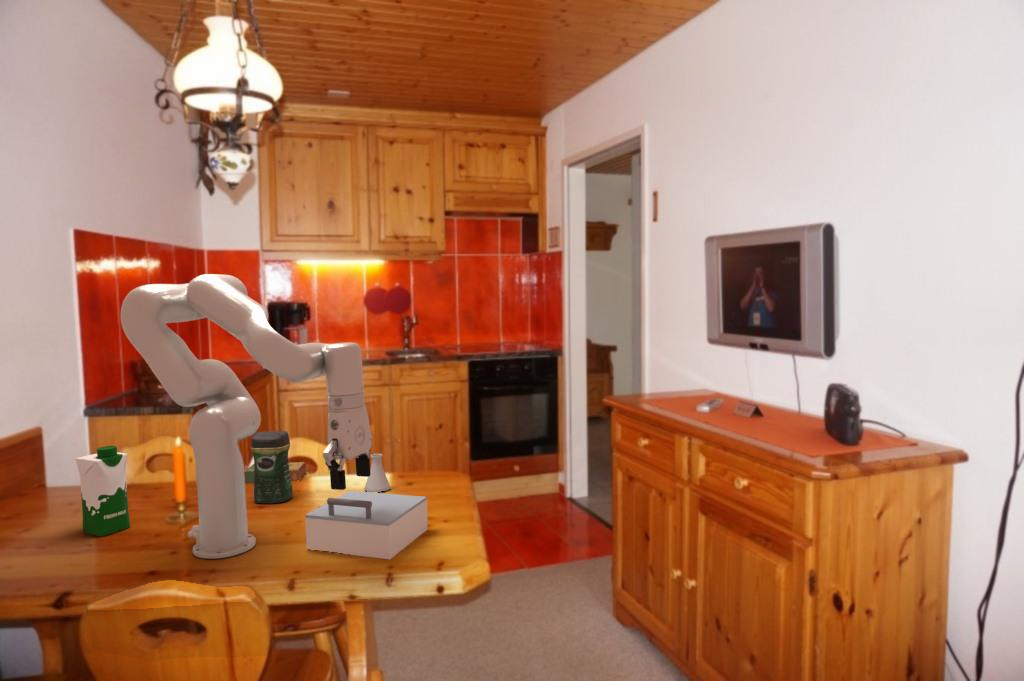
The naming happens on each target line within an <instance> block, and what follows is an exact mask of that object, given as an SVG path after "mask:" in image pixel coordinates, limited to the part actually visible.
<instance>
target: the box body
mask: <svg viewBox="0 0 1024 681" xmlns="http://www.w3.org/2000/svg"><path fill="white" fill-rule="evenodd" d="M427 501H428V499H427V500H425V501H424V502H422V503H421V504H419V505H418V506H417V507H415V508H414V509H412V510H411V511H409V512H408V513H407V514H405V515H404V516H402V517H401V518H399V519H398V520H397V521H395V522H394V523H392V524H391V525H389V526H385V525H375V524H365V523H355V522H345V521H335V520H325V519H314V518H304V520H305V539H306V540H305V541H306V550H307V549H311V550H310V551H314V550H322V551H329V552H328V553H331V552H338V553H337V554H339V553H343V554H342V555H348V554H350V555H351V556H357V557H366V558H374V559H375V558H376V559H384V560H392V559H393V558H394V557H395V556H396V555H397V554H399V553H401V552H402V550H404V549H406V547H407V546H409V545H410V544H411V543H412V542H414V541H416V539H418V538H419V537H420V536H421V535H422V534H424V533H425V532H426V531H428V502H427ZM312 549H313V550H312ZM322 551H321V552H322ZM350 555H349V556H350Z"/></svg>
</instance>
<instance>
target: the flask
mask: <svg viewBox="0 0 1024 681" xmlns="http://www.w3.org/2000/svg"><path fill="white" fill-rule="evenodd" d="M382 457H383V454H382V453H373V454H371V456H370V458H371V463H370V474H371V475H370V476H369V477H367V480H366V482H365V485H364V489H365V490H366V491H368V492H380V493H382V492H381V491H386V490H388V491H390V490H392V487H391V485H390V482H389V480H388V477H387V474H386V472H385V470H384V466H383V463H382V461H383V460H382V459H383V458H382ZM364 489H363V490H364ZM389 489H390V490H389ZM365 490H364V491H365ZM366 491H365V492H366ZM386 492H387V491H386Z"/></svg>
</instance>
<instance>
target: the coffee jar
mask: <svg viewBox="0 0 1024 681" xmlns="http://www.w3.org/2000/svg"><path fill="white" fill-rule="evenodd" d="M290 447H291V440H290V436H289V433H288V431H280V430H279V431H278V430H277V431H276V430H274V431H273V430H272V431H271V430H269V431H268V430H267V431H259V432H255V433H254V434H253V435H251V442H250V450H251V451H250V452H251V454H252V456H253V462H254V463H253V464H254V483H253V501H254V502H255V503H256V504H257V503H258V504H277V503H282V502H286V501H289V500H290V499H291V498H292V497H293V495H294V494H293V493H294V492H293V482H291V477H290V470H289V463H290V462H289V450H290Z"/></svg>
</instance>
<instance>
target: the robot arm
mask: <svg viewBox="0 0 1024 681" xmlns="http://www.w3.org/2000/svg"><path fill="white" fill-rule="evenodd" d="M201 319H208V320H209V321H211V322H212V323H214V324H216V326H219V327H220V328H222V329H223V330H225V331H227V333H229V334H230V335H232V336H233V337H234V338H236V339H237V340H239V341H240V342H241V344H242V346H243V348H244V349H245V350H246V352H247V353H248V354H249V355H250V357H251V358H252V359H253V360H254V361H255V362H256V363H258V365H261V366H262V367H263V368H265V369H266V370H268V371H269V372H270V373H272V374H273V375H275V376H277V377H278V378H280V379H282V380H284V381H285V382H289V383H292V384H293V383H294V384H295V383H296V384H298V383H303V382H307V381H309V380H313V379H316V378H320V377H321V378H322V377H324V376H325V383H326V384H325V385H326V399H327V401H326V402H327V411H328V413H327V414H328V415H327V432H326V433H327V447H326V448H325V450H324V451H323V452H322V457H323V460H324V462H325V466H327V470H328V471H329V477H330V478H329V479H330V489H331V490H338V491H344V490H346V489H347V482H346V469H344V466H345V463H346V460H353V459H354V461H355V472H356V476H357V477H364V478H365V477H367V478H368V477H369V476H370V475H371V474H370V470H371V463H370V462H371V460H370V458H371V455H372V454H371V452H370V451H371V449H372V448H373V447H372V441H373V435H372V433H371V426H370V419H369V414H368V410H367V406H366V402H365V387H364V372H363V371H364V370H363V354H362V348H361V345H359V344H358V343H357V342H348V341H347V342H336V343H323V342H307V343H300V344H295V343H294V342H292V341H291V340H290V339H287V338H286V337H285V336H283V335H282V334H280V333H279V332H278V331H276V330H275V329H274V328H273V327H272V326H271V324H270V323H269V322H268V320H269V312H268V309H267V308H266V307H265V306H263V305H262V304H260V303H259V302H257V301H256V300H254V299H253V298H252V297H250V296H249V293H248V290H247V287H246V285H245V284H244V282H242V281H241V279H239V278H237V277H235V276H233V275H230V274H218V273H217V274H214V273H204V274H200V275H198V276H196V277H194V278H192V280H190V281H189V283H179V284H178V283H175V284H174V283H150V284H149V283H148V284H143V285H140V286H137V287H135V288H134V289H132V290H130V291H129V292H128V293H127V294H126V296H125V298H124V299H123V301H122V304H121V308H120V324H121V328H122V330H123V332H124V334H125V336H126V338H127V339H128V341H129V342H130V344H131V345H132V346H133V347H134V348H135V350H136V351H137V353H138V354H140V356H141V357H142V358H143V360H144V361H145V363H146V364H147V365H148V367H149V368H150V370H151V371H152V374H153V375H154V376H155V377H156V379H157V380H158V381H159V383H160V385H161V386H162V387H163V388H164V390H165V391H166V392H167V394H168V395H169V397H170V398H171V400H172V401H173V402H174V403H176V405H178V406H181V407H184V408H185V407H186V408H189V407H195V406H199V405H202V404H206V406H204V407H203V408H201V409H199V410H198V411H197V412H196V413H195V414H194V415H193V416H192V418H191V421H190V422H189V426H188V434H189V441H190V443H191V444H190V445H191V448H192V453H193V457H194V464H195V475H196V476H195V477H196V488H197V506H198V507H197V509H198V522H199V523H198V524H194V525H192V526H191V529H190V530H189V531H188V532H187V537H188V538H196V539H195V540H196V543H195V544H194V545H192V554H193V555H194V556H195V557H197V558H200V559H207V560H215V559H224V558H230V557H234V556H238V555H240V554H243V553H246V552H248V551H249V550H251V549H252V548H254V546H255V545H256V544H257V543H256V536H254V535H253V534H251V533H249V531H248V516H247V515H248V514H247V513H248V512H247V495H246V494H247V492H246V483H245V474H244V471H245V465H244V464H245V463H244V459H243V458H244V457H243V456H242V453H241V450H240V447H239V444H238V443H239V442H240V441H242V440H243V441H244V439H248V438H249V437H252V436H253V435H254V434H256V433H257V431H258V429H260V428H259V427H260V426H261V422H262V417H261V411H260V409H259V407H258V405H257V403H256V402H255V400H254V398H253V397H252V396H251V394H250V393H249V392H248V390H247V389H246V387H245V386H244V385H243V383H242V382H241V380H240V379H239V377H238V376H237V374H236V373H235V372H234V371H233V370H232V368H230V366H228V365H227V364H226V363H225V362H222V361H220V360H217V359H213V358H205V359H198V358H197V357H196V355H195V354H194V352H192V351H191V350H190V348H189V347H188V345H187V344H186V342H185V340H183V338H181V336H180V335H178V334H177V333H176V332H174V330H172V329H171V328H170V327H169V326H168V325H167V324H171V323H172V324H173V323H185V322H191V321H197V320H201Z"/></svg>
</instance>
